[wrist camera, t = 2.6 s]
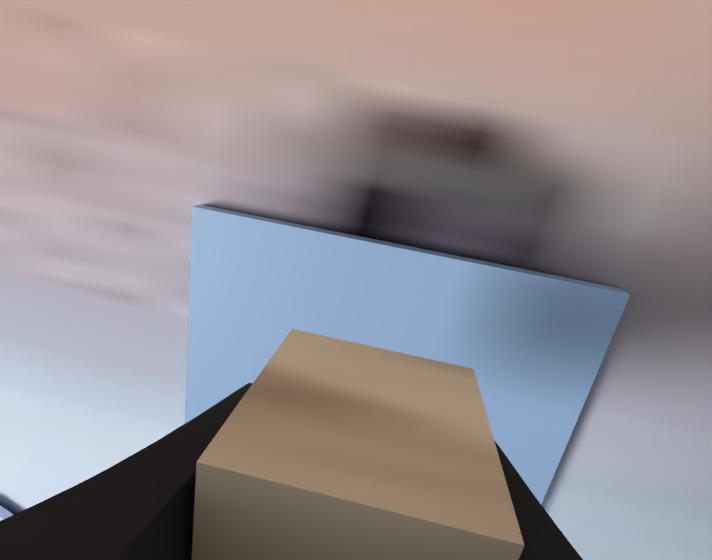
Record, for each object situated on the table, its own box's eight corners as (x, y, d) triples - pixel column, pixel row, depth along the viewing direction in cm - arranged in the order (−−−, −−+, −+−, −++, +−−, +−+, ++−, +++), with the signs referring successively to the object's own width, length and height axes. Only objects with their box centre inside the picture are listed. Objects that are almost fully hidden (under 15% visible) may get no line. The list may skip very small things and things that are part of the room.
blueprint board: (457, 684, 20) (458, 701, 19) (184, 604, 21) (176, 618, 21) (621, 288, 13) (632, 295, 12) (201, 204, 14) (190, 206, 14)
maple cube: (430, 510, 10) (442, 741, 6) (273, 470, 10) (185, 665, 6) (473, 369, 8) (524, 546, 4) (292, 328, 9) (196, 462, 5)
